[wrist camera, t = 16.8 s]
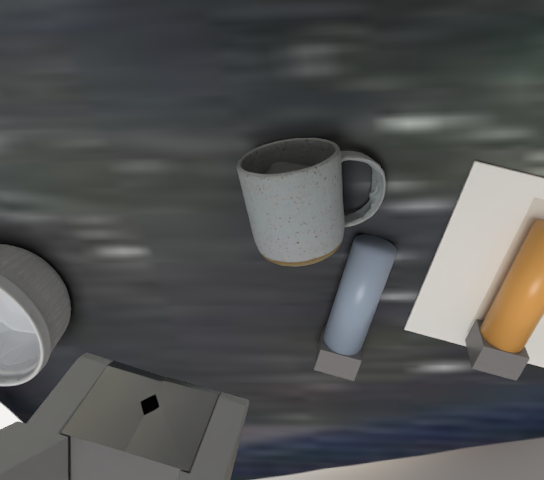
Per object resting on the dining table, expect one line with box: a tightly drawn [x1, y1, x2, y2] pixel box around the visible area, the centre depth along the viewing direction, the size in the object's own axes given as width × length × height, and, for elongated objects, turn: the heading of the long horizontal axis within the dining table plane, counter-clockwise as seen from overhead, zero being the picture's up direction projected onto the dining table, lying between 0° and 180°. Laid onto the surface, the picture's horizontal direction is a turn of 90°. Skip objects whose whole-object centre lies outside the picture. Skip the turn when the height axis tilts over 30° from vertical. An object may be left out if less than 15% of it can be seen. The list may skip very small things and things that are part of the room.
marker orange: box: [465, 220, 544, 381], centre depth 39 cm, size 12×4×4 cm, turn 169°
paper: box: [404, 160, 544, 367], centre depth 40 cm, size 16×14×1 cm
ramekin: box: [0, 244, 71, 386], centre depth 48 cm, size 13×13×7 cm
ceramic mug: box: [237, 138, 386, 266], centre depth 36 cm, size 10×8×7 cm
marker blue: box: [314, 235, 397, 381], centre depth 42 cm, size 12×4×4 cm, turn 169°
